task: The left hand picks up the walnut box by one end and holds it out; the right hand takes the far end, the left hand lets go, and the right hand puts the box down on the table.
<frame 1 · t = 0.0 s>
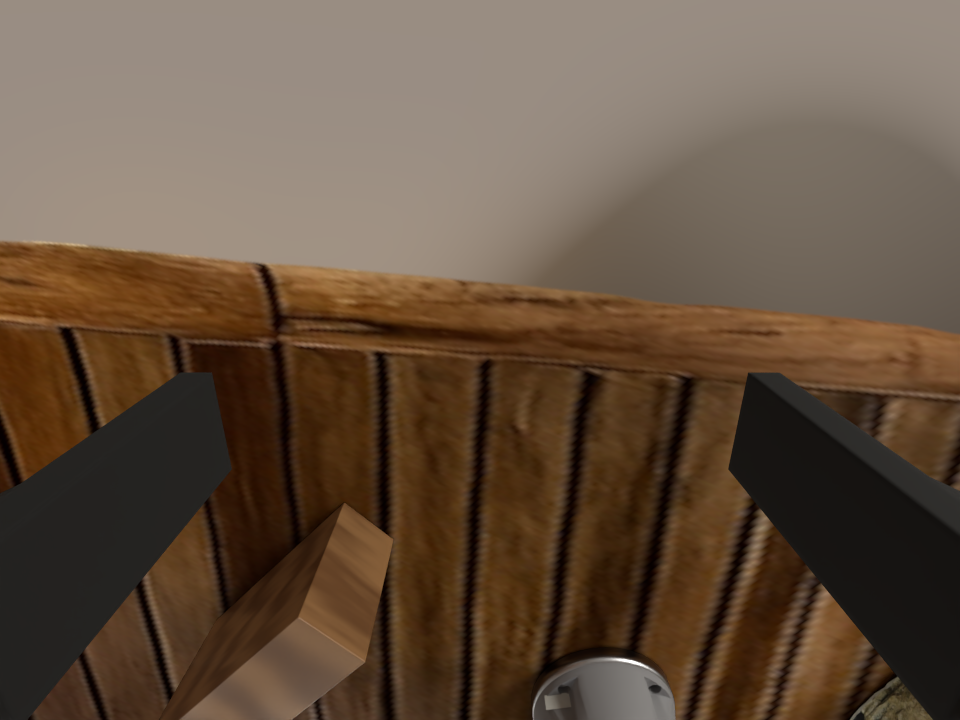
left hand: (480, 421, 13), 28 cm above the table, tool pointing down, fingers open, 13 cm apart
box: (301, 581, 51), on the table
fossil: (896, 700, 57), on the table
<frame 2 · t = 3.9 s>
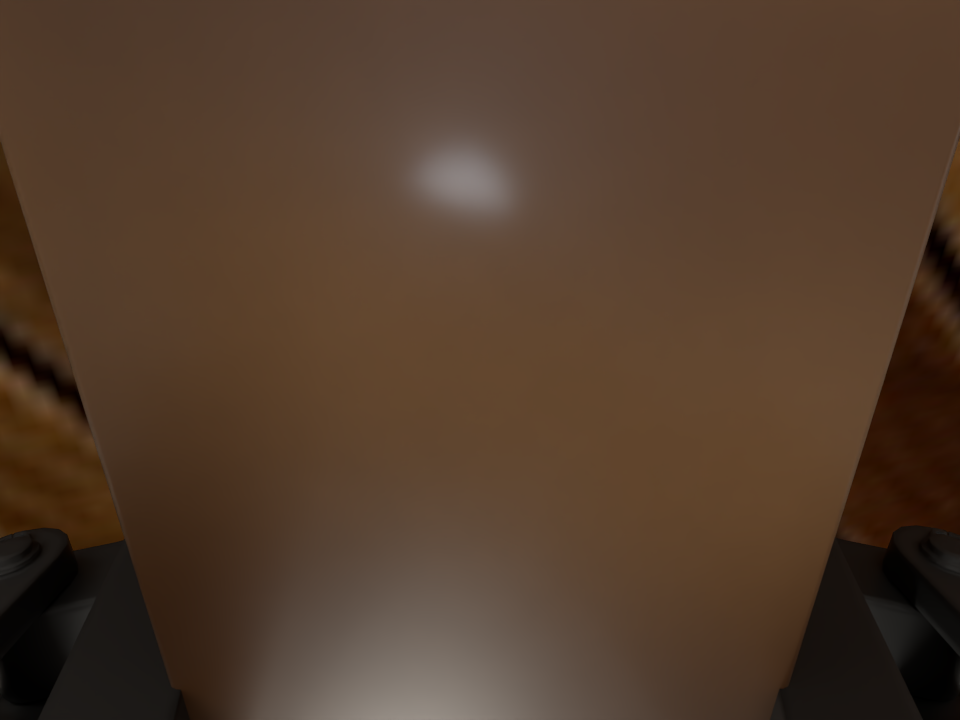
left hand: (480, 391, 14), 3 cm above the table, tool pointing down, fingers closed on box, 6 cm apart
box: (479, 120, 15), on the table, touching left hand
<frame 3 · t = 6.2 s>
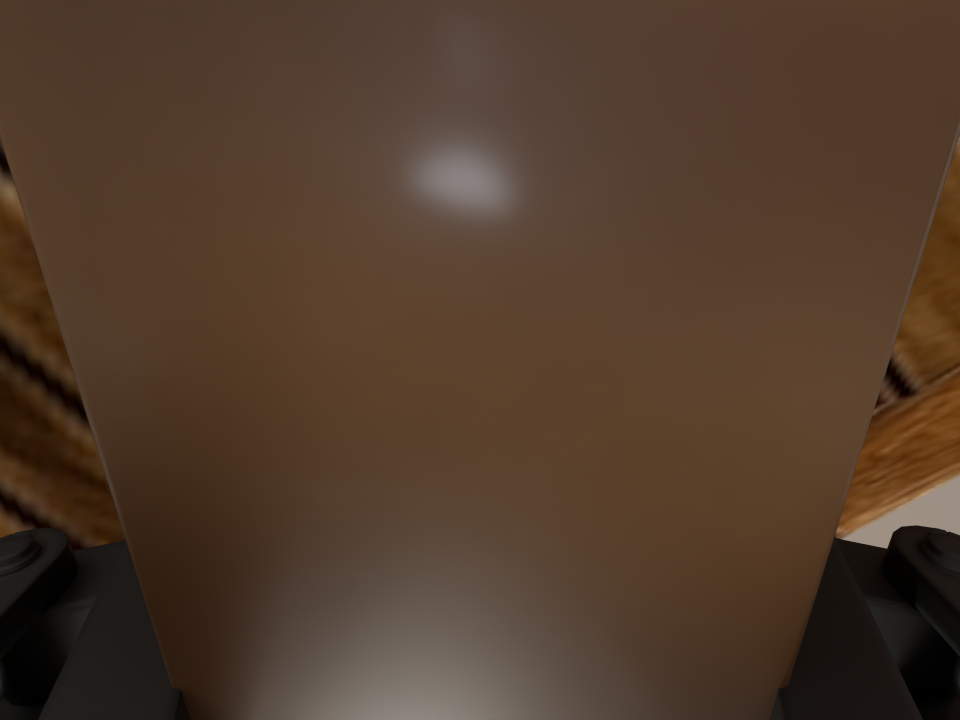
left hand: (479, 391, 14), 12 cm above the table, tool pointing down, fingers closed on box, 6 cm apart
box: (479, 120, 15), point 9 cm above the table, touching left hand
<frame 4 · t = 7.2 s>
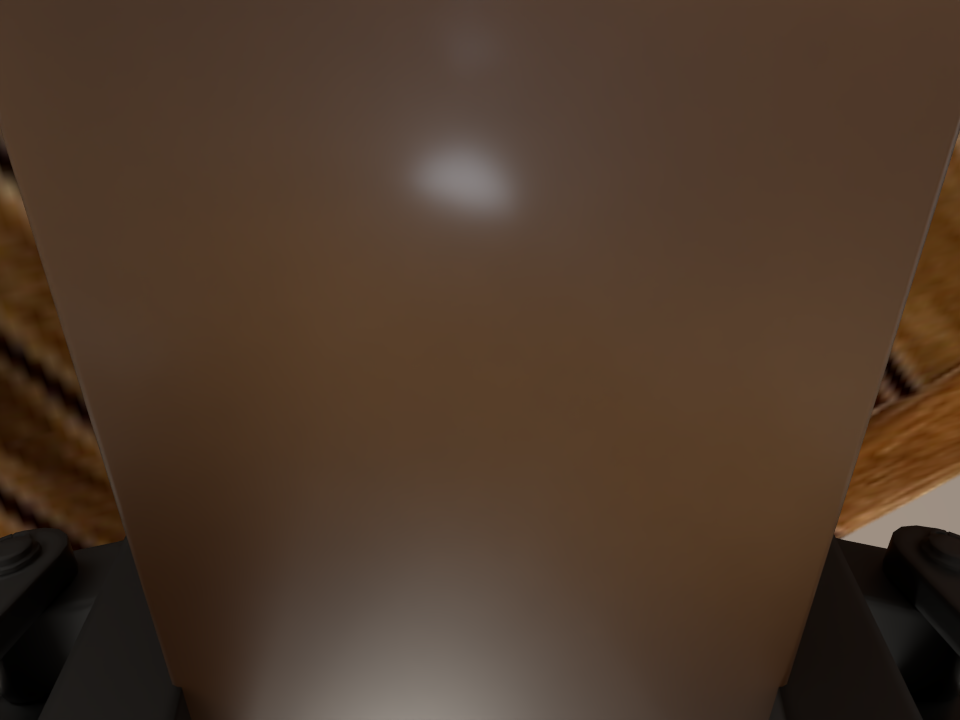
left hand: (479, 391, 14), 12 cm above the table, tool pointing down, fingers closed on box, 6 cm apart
box: (480, 120, 15), point 9 cm above the table, touching left hand, right hand
when the left hand's fingers open (12 cm above the table, at t = 8.4 s): box stays where it is, held by the right hand.
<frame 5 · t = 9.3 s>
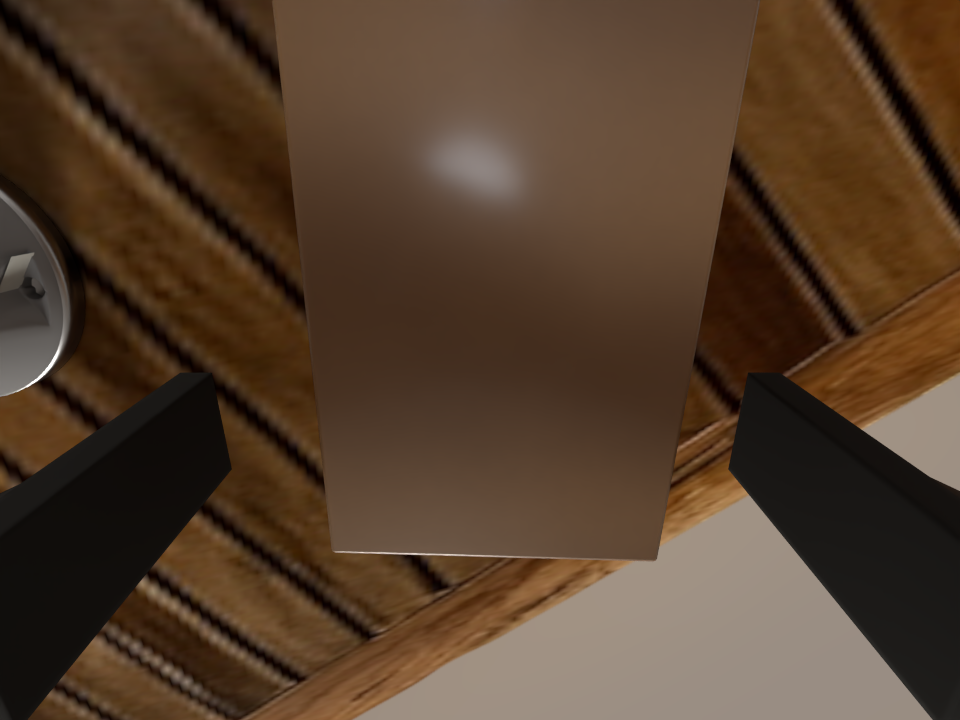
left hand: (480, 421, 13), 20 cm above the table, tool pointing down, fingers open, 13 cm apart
box: (499, 58, 18), point 11 cm above the table, touching right hand
when the right hand's fingers open (9 cm above the table, at t = 13.0 s): box moves 1 cm, on the table.
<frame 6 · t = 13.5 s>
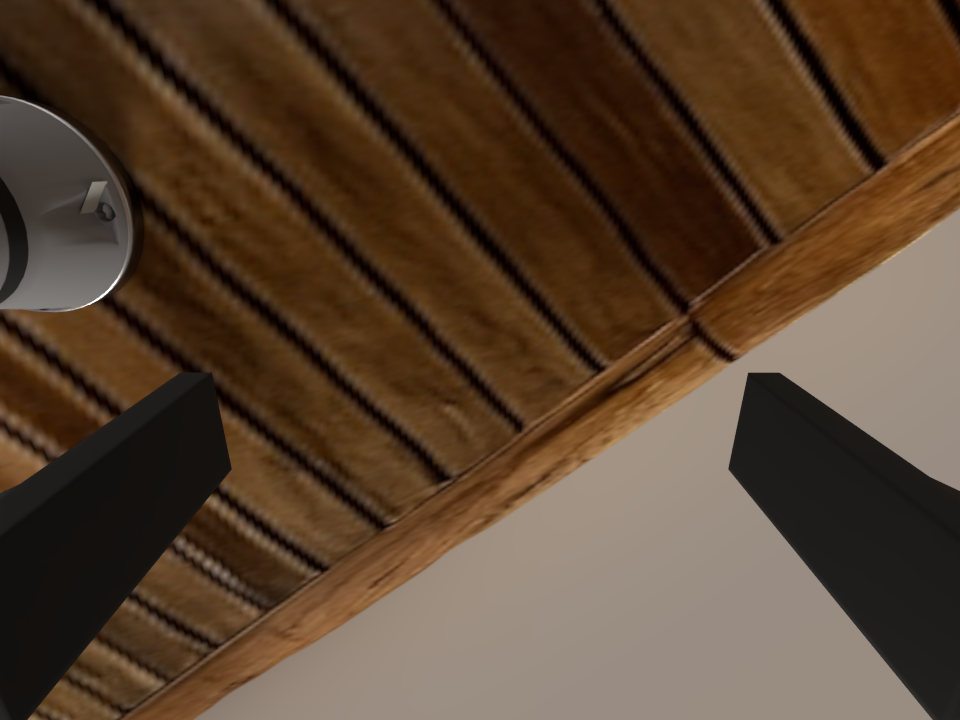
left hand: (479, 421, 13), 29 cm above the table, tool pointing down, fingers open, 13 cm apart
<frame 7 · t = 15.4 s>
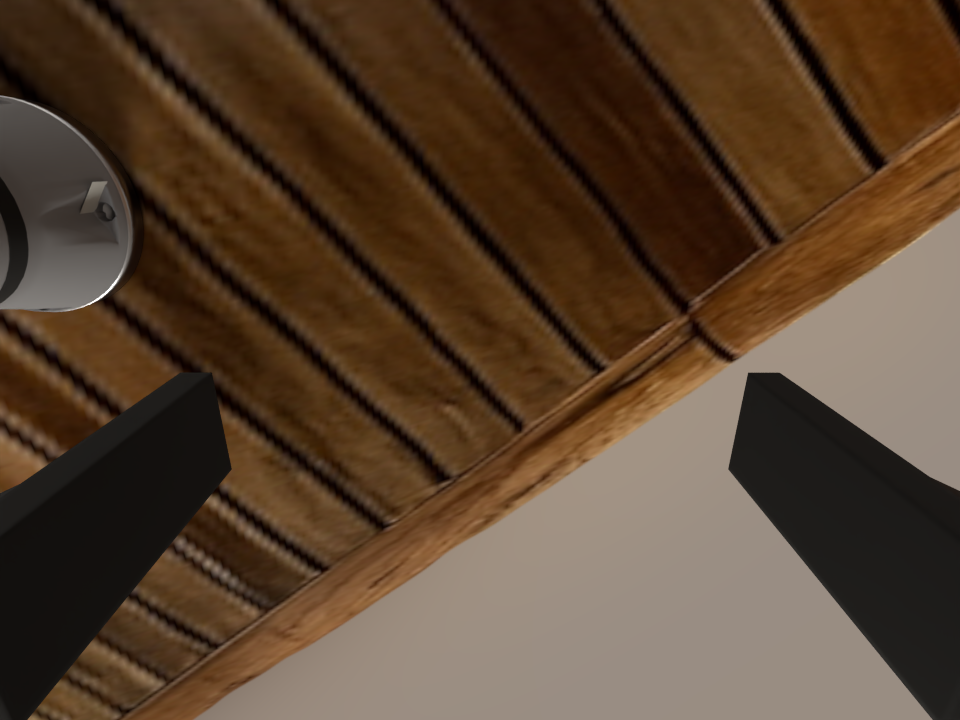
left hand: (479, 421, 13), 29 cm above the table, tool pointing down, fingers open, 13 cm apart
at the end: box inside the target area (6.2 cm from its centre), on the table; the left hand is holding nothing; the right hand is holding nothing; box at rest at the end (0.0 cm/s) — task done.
